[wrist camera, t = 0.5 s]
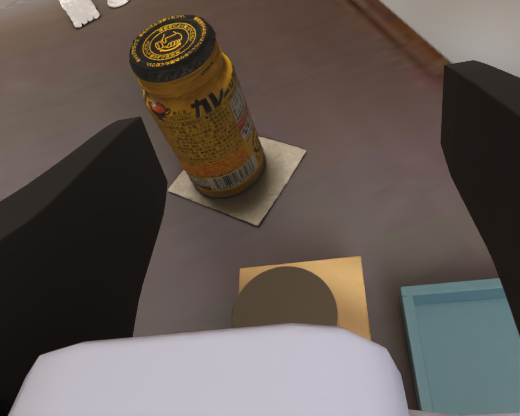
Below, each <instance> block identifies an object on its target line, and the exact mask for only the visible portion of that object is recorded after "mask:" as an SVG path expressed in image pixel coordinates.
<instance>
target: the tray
mask: <svg viewBox="0 0 520 416" xmlns="http://www.w3.org/2000/svg"><path fill="white" fill-rule="evenodd" d="M400 305H401V311H402V317H403V323H404V329H405V334H406V340H407V346H408V352H409V358H410V364H411V370H412V376H413V382H414V388H415V394H416V400H417V406H418V411H427V412H435V413H444V414H453V415H477V414H495V413H513V412H520V336H519V333H518V330H517V327H516V324H515V321H514V319H513V316H512V313H511V310H510V307H509V304H508V301H507V298H506V295H505V292H504V289H503V287H502V284H501V281H500V278H492V279H481V280H470V281H459V282H448V283H437V284H426V285H414V286H403V287H400Z"/></svg>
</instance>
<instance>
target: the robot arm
mask: <svg viewBox="0 0 520 416" xmlns="http://www.w3.org/2000/svg"><path fill="white" fill-rule="evenodd" d="M441 146H442V149H443V153H444V156H445V159H446V162H447V165H448V168H449V171H450V174H451V177H452V179H453V181H454V183H455V185H456V187H457V189H458V191H459V193H460V195H461V197H462V199H463V201H464V203H465V205H466V207H467V209H468V211H469V213H470V215H471V217H472V219H473V221H474V223H475V225H476V227H477V229H478V231H479V233H480V235H481V237H482V239H483V241H484V243H485V245H486V246H487V249H488V251H489V253H490V255H491V258H492V260H493V262H494V264H495V267H496V270H497V273H498V276H499V278H500V281H501V284H502V287H503V289H504V292H505V295H506V298H507V301H508V304H509V307H510V310H511V313H512V316H513V319H514V321H515V324H516V327H517V330H518V333H519V336H520V78H519V77H516V76H514V75H512V74H509V73H507V72H505V71H502V70H500V69H497V68H495V67H492V66H490V65H487V64H484V63H481V62H478V61H474V60H472V61H466V62H461V63H454V64H448V65H444V82H443V103H442V124H441ZM167 183H168V182H167V180H166V177H165V175H164V172H163V170H162V167H161V165H160V163H159V160H158V158H157V155H156V153H155V150H154V148H153V146H152V143H151V141H150V138H149V136H148V133H147V131H146V128H145V126H144V124H143V121H142V119H141V117H135V118H129V119H123V120H118V121H116V122H114V123H112V124H110V125H109V126H107V127H105V128H104V129H103V130H101V131H100V132H98V133H97V134H96V135H94V136H93V137H91V138H90V139H89V140H87V141H86V142H85V143H84V144H82V145H81V146H80V147H78V148H77V149H76V150H74V151H73V152H72V153H70V154H69V155H68V156H66V157H65V158H64V159H63V160H61V161H60V162H59V163H57V164H56V165H54V166H53V167H51V168H50V169H49V170H47V171H46V172H44V173H43V174H42V175H40V176H39V177H37V178H36V179H35V180H33V181H32V182H30V183H29V184H28V185H26V186H24V187H23V188H21V189H20V190H18V191H17V192H15V193H14V194H12V195H10V196H9V197H7V198H5V199H4V200H2V201H0V416H520V412H513V413H495V414H477V415H453V414H444V413H435V412H427V411H418V410H409V409H408V406H407V401H406V396H405V391H404V386H403V382H402V377H401V374H400V372H399V370H398V368H397V366H396V365H395V363H394V361H393V359H392V357H391V356H390V354H389V352H388V350H387V349H386V348H385V347H383V346H381V345H379V344H377V343H375V342H373V341H370V340H368V339H366V338H364V337H362V336H360V335H357V334H355V333H353V332H351V331H349V330H347V329H344V328H342V327H340V326H327V325H313V324H299V323H287V324H276V325H265V326H253V327H242V328H231V329H220V330H209V331H198V332H186V333H175V334H164V335H153V336H142V337H133V330H134V325H135V319H136V313H137V307H138V302H139V297H140V293H141V289H142V285H143V282H144V279H145V275H146V272H147V269H148V265H149V262H150V259H151V255H152V252H153V249H154V246H155V242H156V239H157V236H158V232H159V229H160V225H161V222H162V218H163V214H164V208H165V201H166V192H167Z"/></svg>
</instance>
